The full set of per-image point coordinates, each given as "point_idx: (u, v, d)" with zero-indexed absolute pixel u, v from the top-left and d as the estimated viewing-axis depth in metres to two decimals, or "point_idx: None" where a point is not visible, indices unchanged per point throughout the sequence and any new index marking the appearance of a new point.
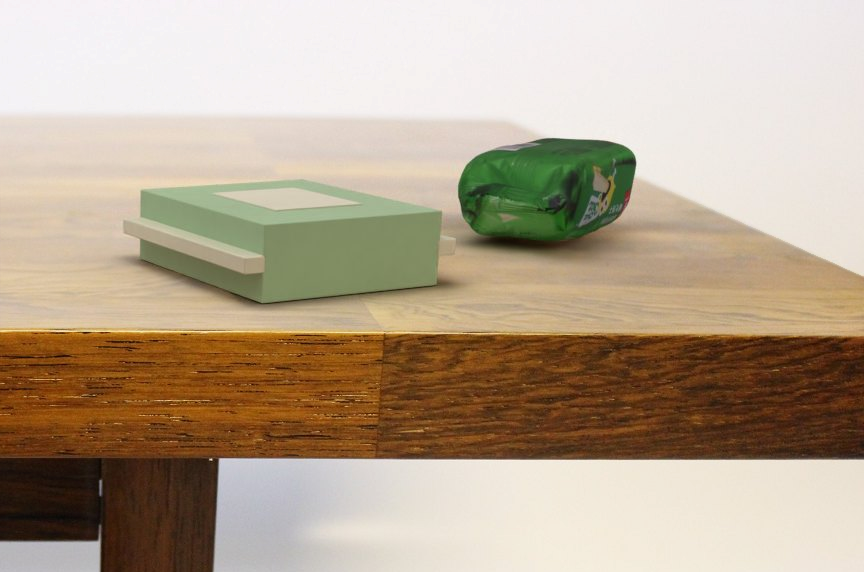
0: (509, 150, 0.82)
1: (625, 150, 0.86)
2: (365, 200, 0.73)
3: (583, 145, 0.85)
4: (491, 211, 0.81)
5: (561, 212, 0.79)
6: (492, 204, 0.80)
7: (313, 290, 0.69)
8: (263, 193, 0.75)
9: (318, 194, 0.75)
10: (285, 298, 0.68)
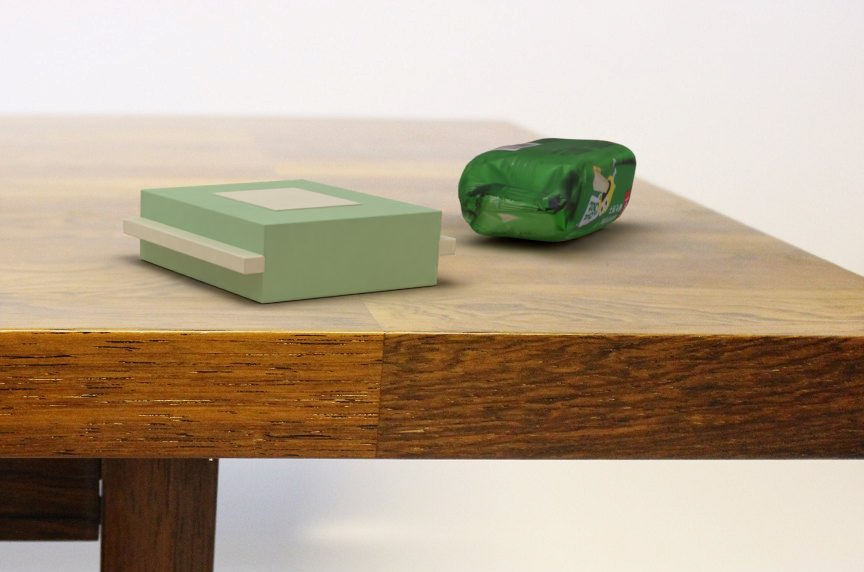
0: (509, 150, 0.82)
1: (625, 150, 0.86)
2: (365, 200, 0.73)
3: (583, 145, 0.85)
4: (491, 211, 0.81)
5: (561, 212, 0.79)
6: (492, 204, 0.80)
7: (313, 290, 0.69)
8: (263, 193, 0.75)
9: (318, 194, 0.75)
10: (285, 298, 0.68)
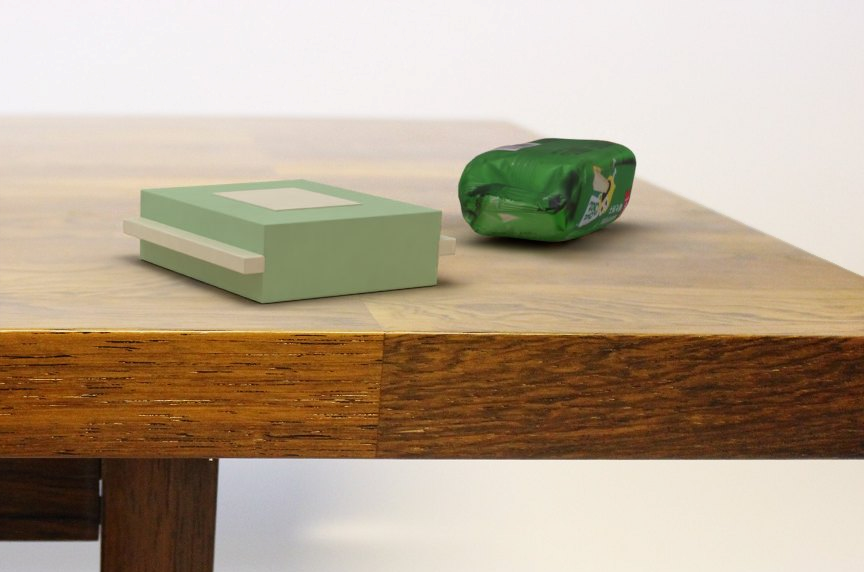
0: (509, 150, 0.82)
1: (625, 150, 0.86)
2: (365, 200, 0.73)
3: (583, 145, 0.85)
4: (491, 211, 0.81)
5: (561, 212, 0.79)
6: (492, 204, 0.80)
7: (313, 290, 0.69)
8: (263, 193, 0.75)
9: (318, 194, 0.75)
10: (285, 298, 0.68)
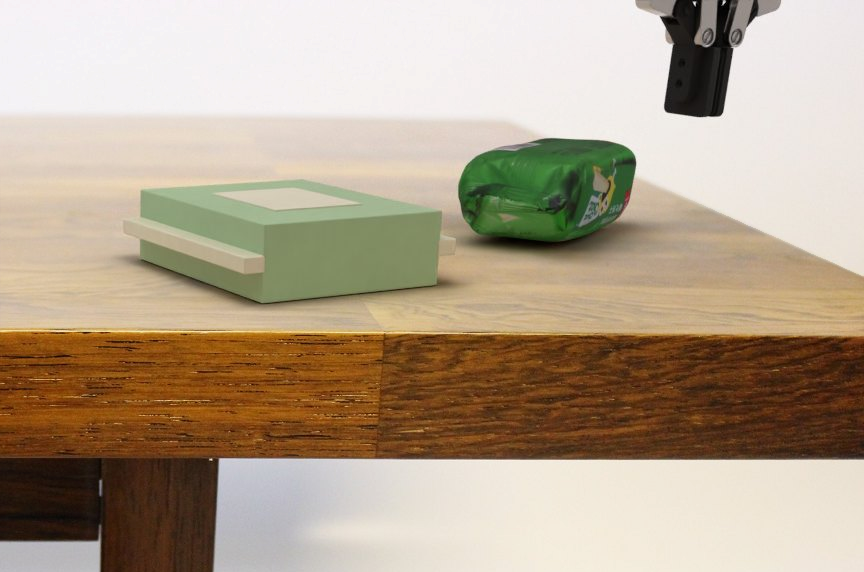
0: (509, 150, 0.82)
1: (625, 150, 0.86)
2: (365, 200, 0.73)
3: (583, 145, 0.85)
4: (491, 211, 0.81)
5: (561, 212, 0.79)
6: (492, 204, 0.80)
7: (313, 290, 0.69)
8: (263, 193, 0.75)
9: (318, 194, 0.75)
10: (285, 298, 0.68)
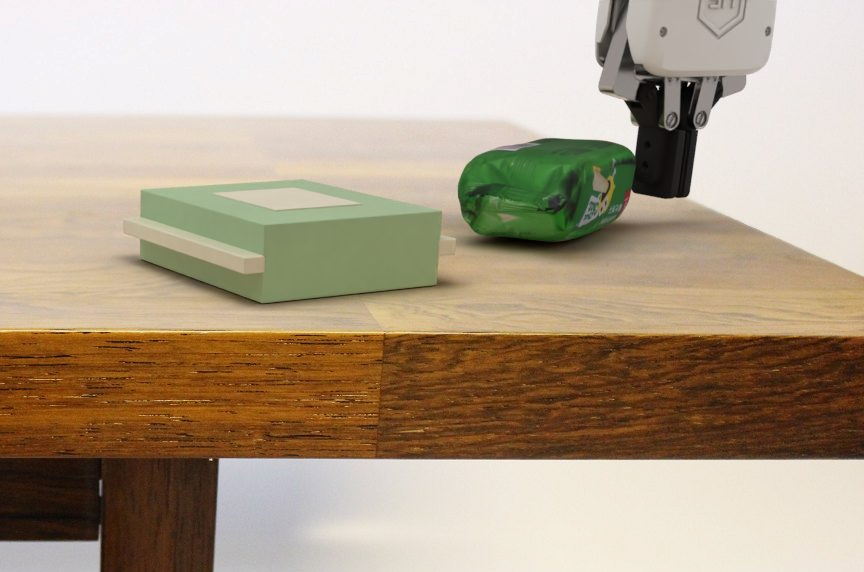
0: (509, 150, 0.82)
1: (625, 150, 0.86)
2: (365, 200, 0.73)
3: (583, 145, 0.85)
4: (491, 211, 0.81)
5: (561, 212, 0.79)
6: (492, 204, 0.80)
7: (313, 290, 0.69)
8: (263, 193, 0.75)
9: (318, 194, 0.75)
10: (285, 298, 0.68)
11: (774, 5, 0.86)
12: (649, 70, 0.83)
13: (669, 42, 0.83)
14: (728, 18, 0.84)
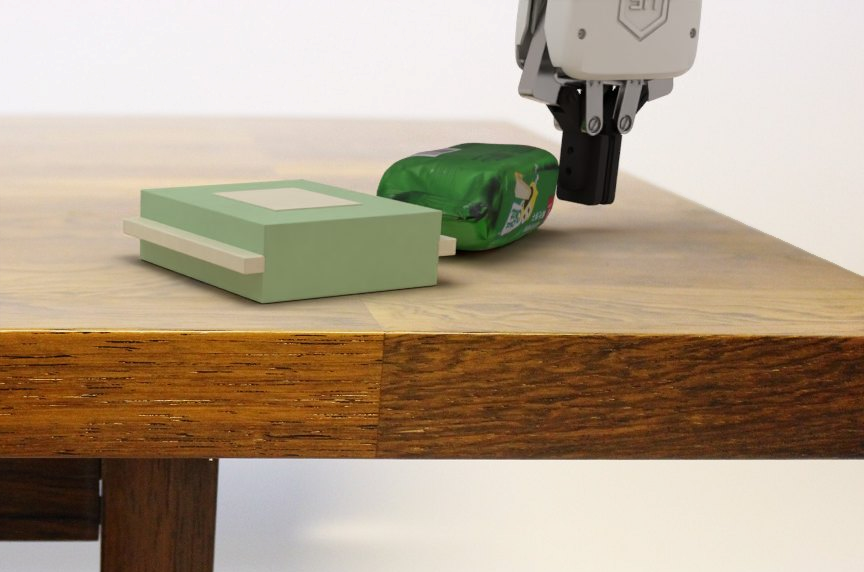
0: (428, 156, 0.79)
1: (547, 155, 0.83)
2: (365, 200, 0.73)
3: (504, 150, 0.82)
4: None
5: (482, 221, 0.76)
6: None
7: (313, 290, 0.69)
8: (263, 193, 0.75)
9: (318, 194, 0.75)
10: (285, 298, 0.68)
11: (699, 6, 0.83)
12: (568, 73, 0.81)
13: (588, 44, 0.80)
14: (650, 19, 0.82)
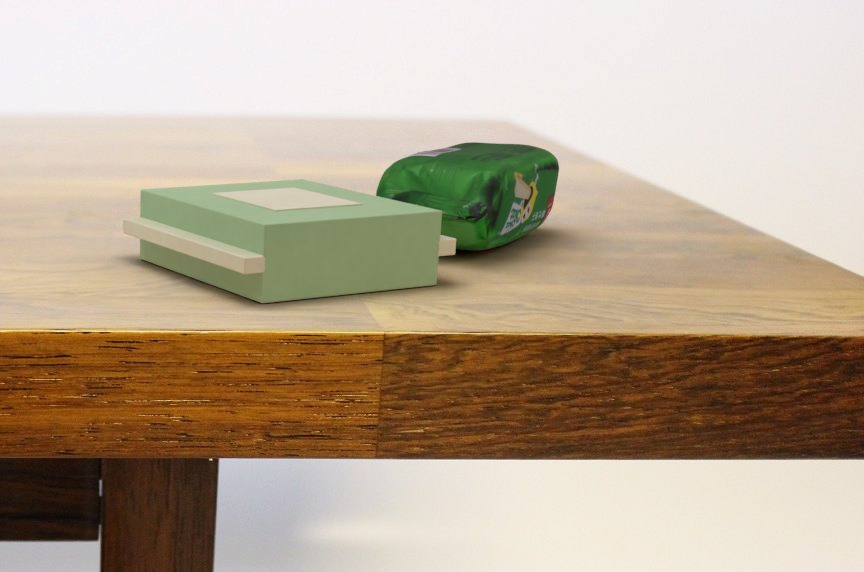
0: (428, 156, 0.79)
1: (547, 155, 0.83)
2: (365, 200, 0.73)
3: (504, 150, 0.82)
4: None
5: (482, 220, 0.76)
6: None
7: (313, 290, 0.69)
8: (263, 193, 0.75)
9: (318, 194, 0.75)
10: (285, 298, 0.68)
11: None
12: None
13: None
14: None
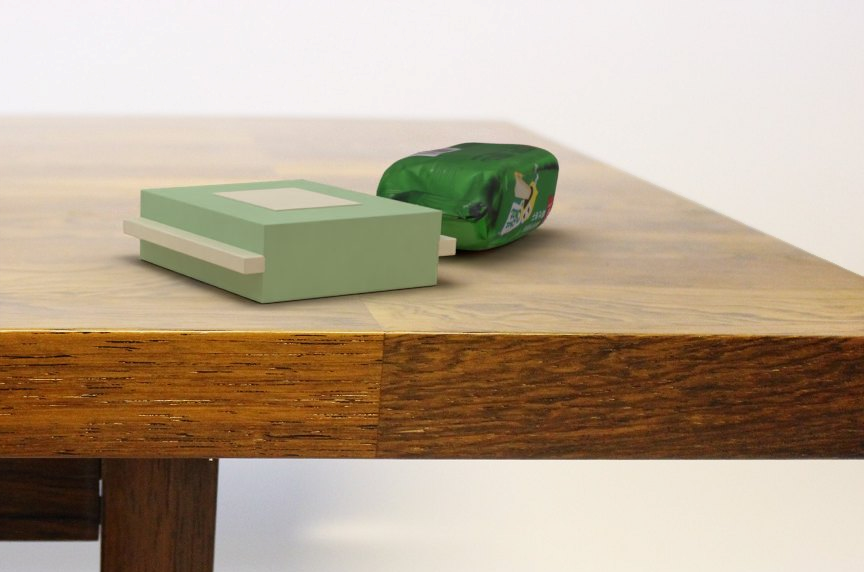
0: (428, 156, 0.79)
1: (547, 155, 0.83)
2: (365, 200, 0.73)
3: (504, 150, 0.82)
4: None
5: (482, 220, 0.76)
6: None
7: (313, 290, 0.69)
8: (263, 193, 0.75)
9: (318, 194, 0.75)
10: (285, 298, 0.68)
11: None
12: None
13: None
14: None
